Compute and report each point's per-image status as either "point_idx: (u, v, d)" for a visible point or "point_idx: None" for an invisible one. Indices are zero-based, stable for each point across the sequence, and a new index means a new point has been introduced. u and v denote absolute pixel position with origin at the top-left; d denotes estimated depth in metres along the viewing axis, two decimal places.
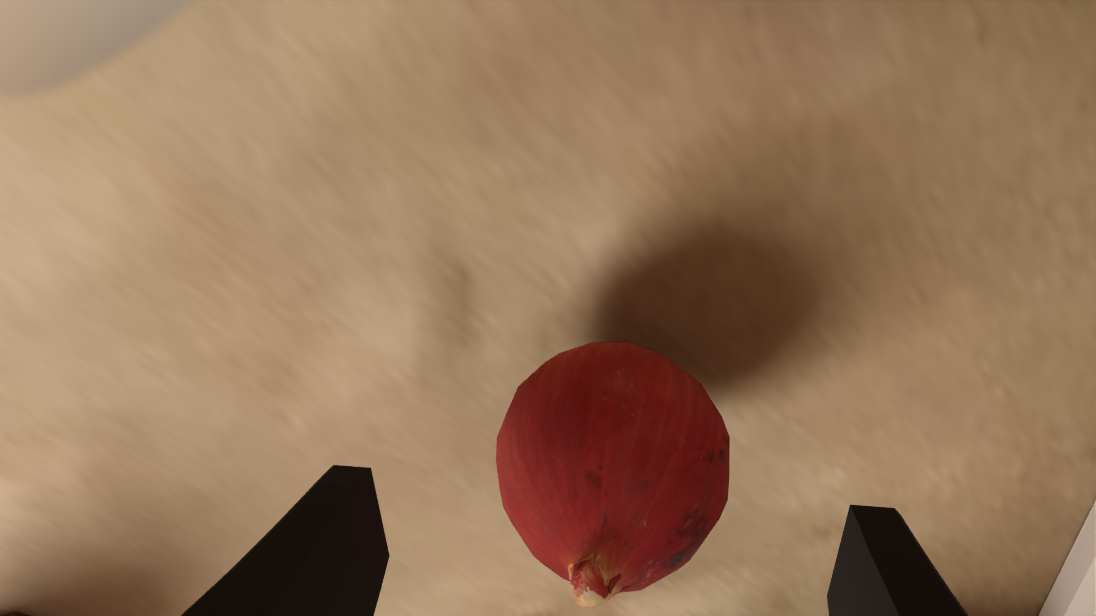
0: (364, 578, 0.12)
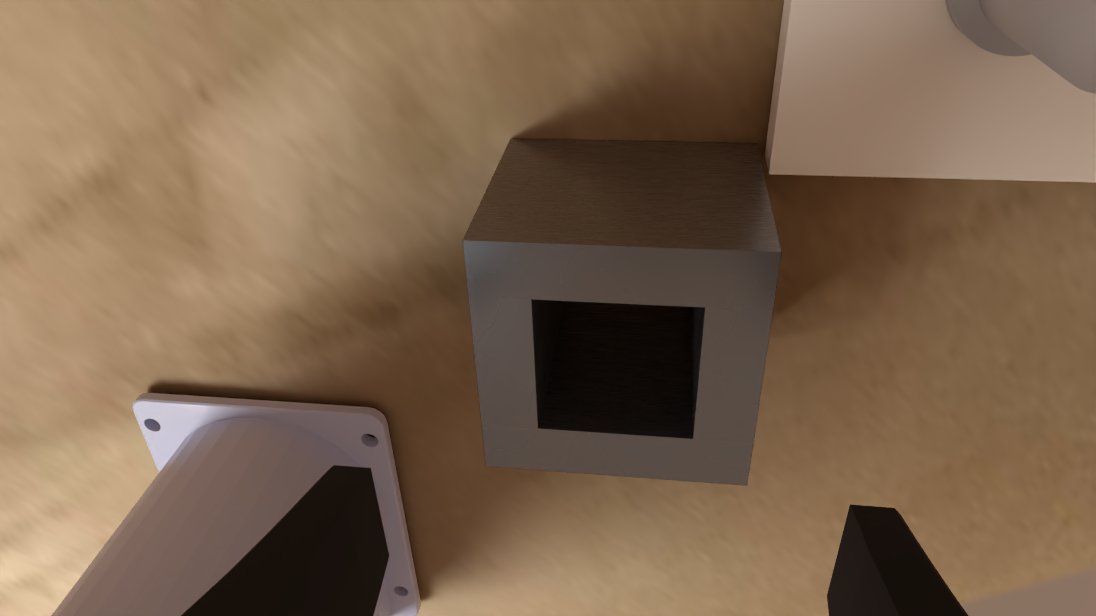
0: (364, 578, 0.12)
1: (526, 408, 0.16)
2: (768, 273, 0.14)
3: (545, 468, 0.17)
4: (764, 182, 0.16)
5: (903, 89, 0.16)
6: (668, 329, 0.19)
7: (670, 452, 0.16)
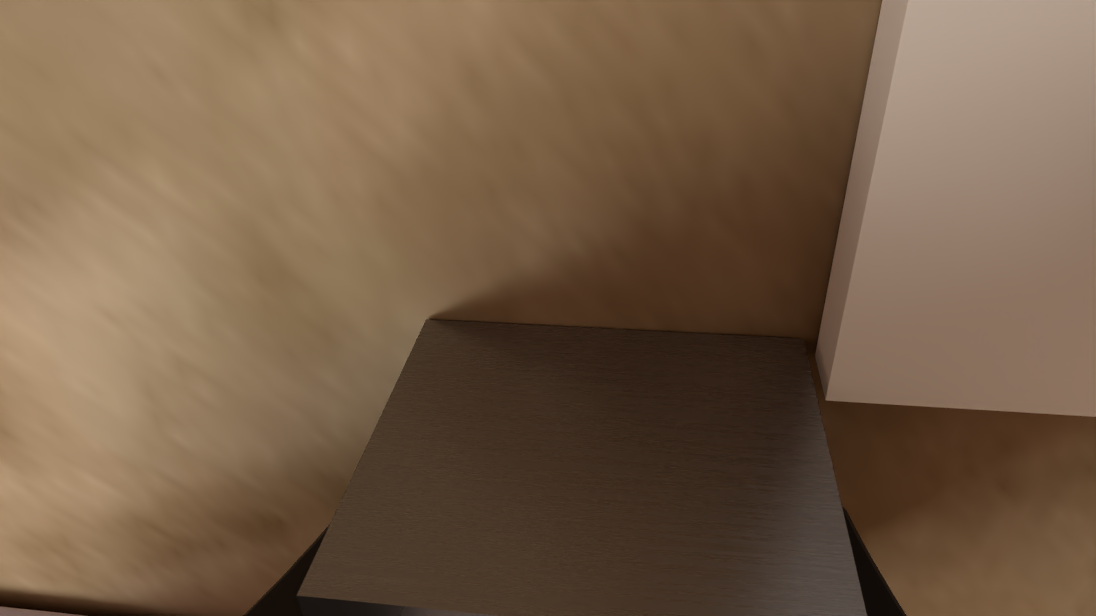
0: None
1: None
2: None
3: None
4: (823, 438, 0.10)
5: (1057, 290, 0.09)
6: None
7: None
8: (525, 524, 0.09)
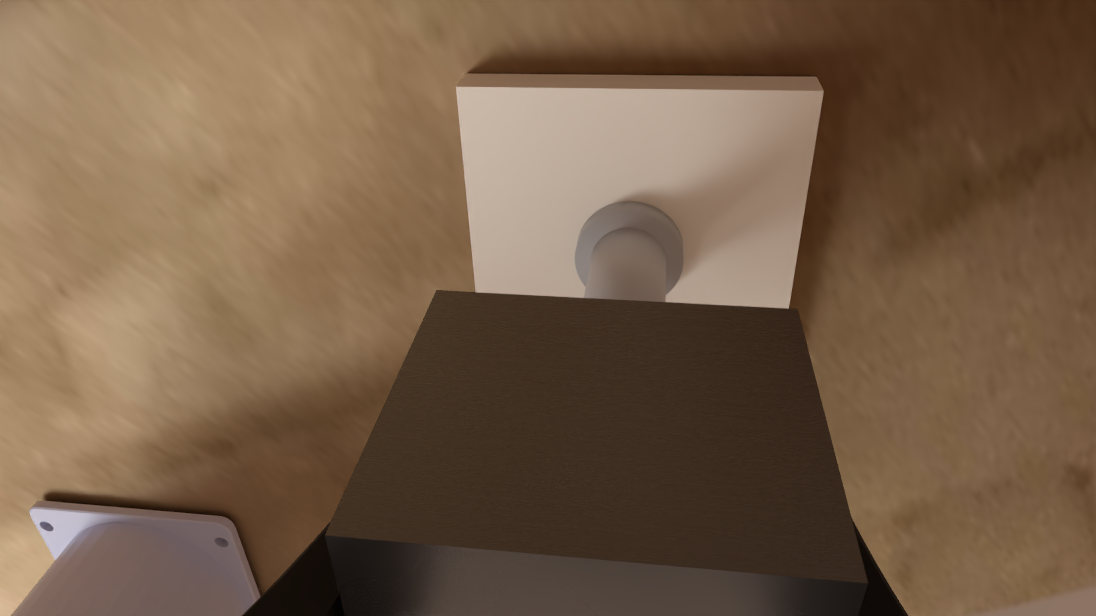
0: None
1: None
2: (842, 610, 0.08)
3: None
4: (817, 397, 0.10)
5: None
6: None
7: None
8: (538, 473, 0.09)
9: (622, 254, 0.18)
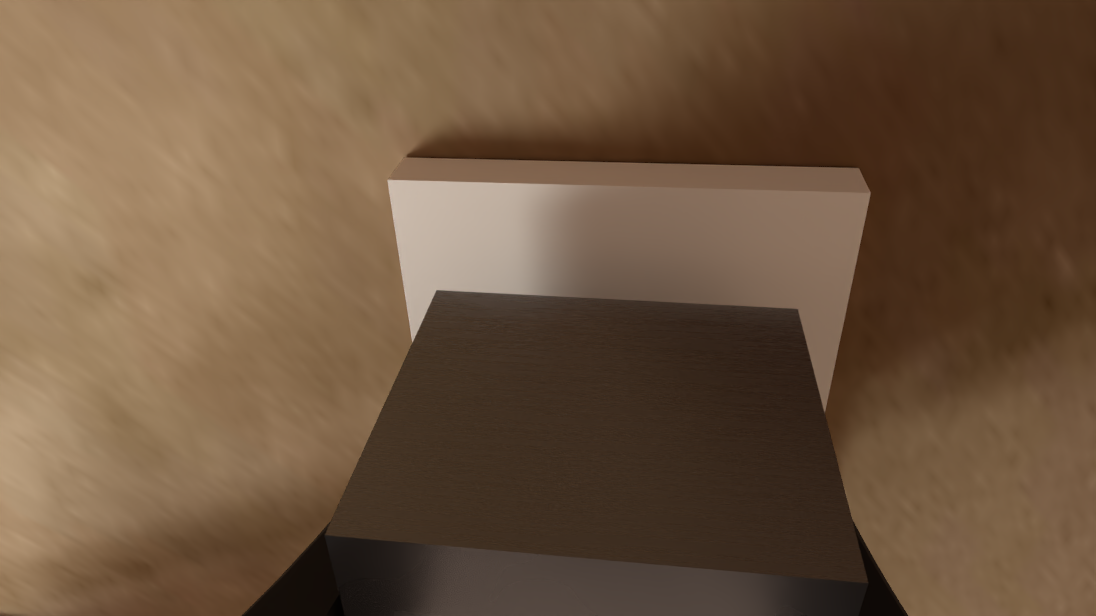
0: None
1: None
2: (843, 610, 0.08)
3: None
4: (817, 397, 0.10)
5: None
6: None
7: None
8: (538, 473, 0.09)
9: None
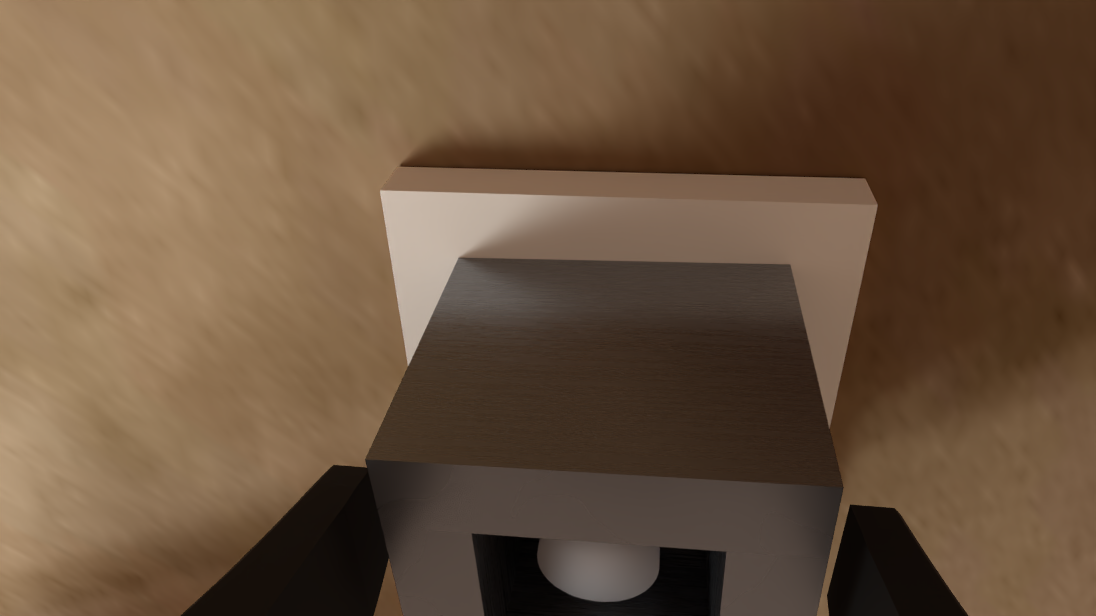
0: (364, 578, 0.12)
1: None
2: (822, 514, 0.09)
3: None
4: (805, 338, 0.11)
5: None
6: None
7: None
8: (552, 406, 0.10)
9: None
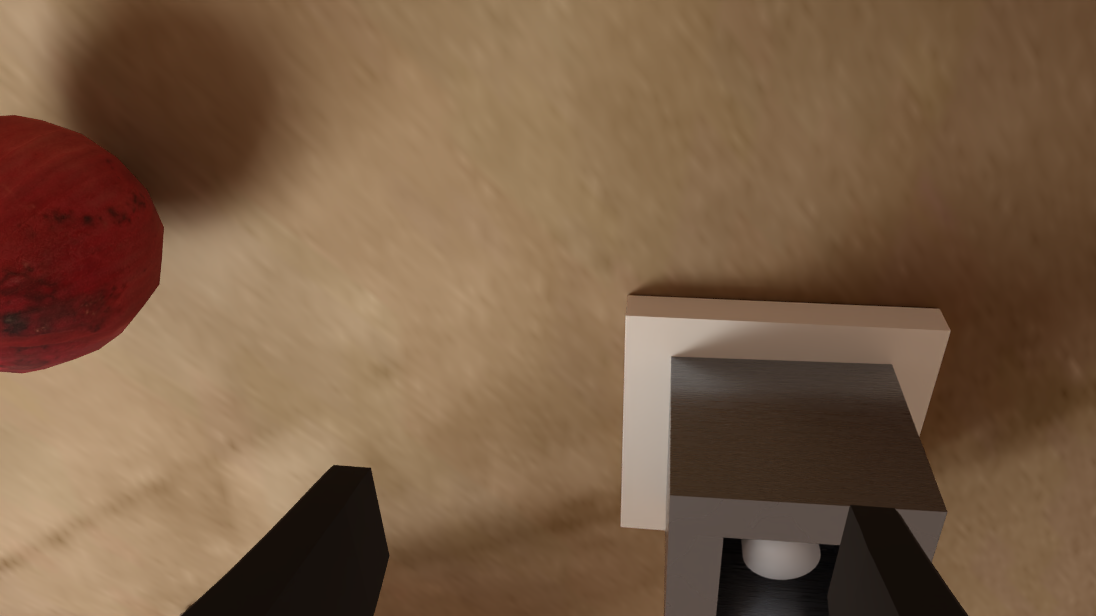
0: (364, 578, 0.12)
1: (706, 612, 0.19)
2: (933, 526, 0.16)
3: None
4: (910, 418, 0.19)
5: None
6: None
7: None
8: (767, 462, 0.18)
9: None
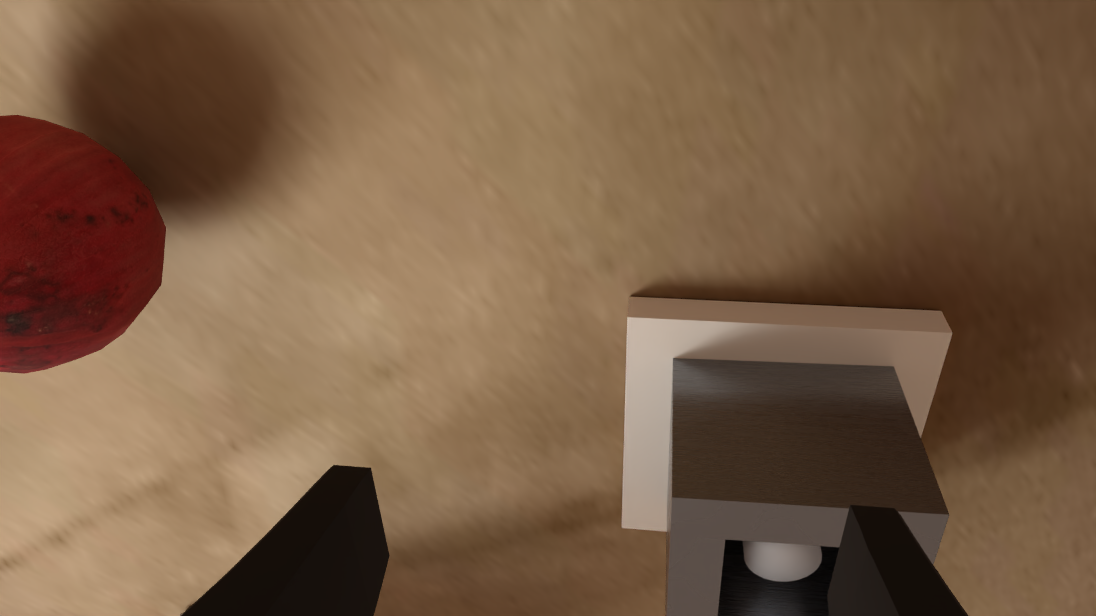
0: (364, 578, 0.12)
1: (708, 614, 0.19)
2: (935, 529, 0.16)
3: None
4: (912, 420, 0.19)
5: None
6: None
7: None
8: (769, 464, 0.18)
9: None
